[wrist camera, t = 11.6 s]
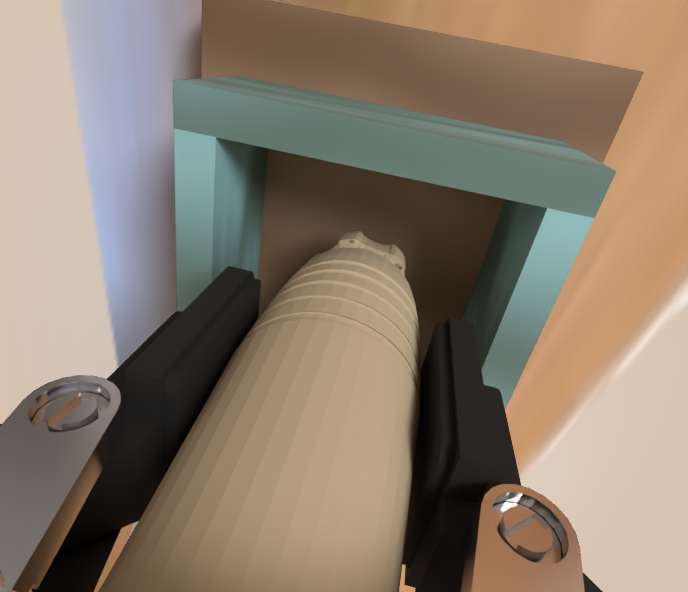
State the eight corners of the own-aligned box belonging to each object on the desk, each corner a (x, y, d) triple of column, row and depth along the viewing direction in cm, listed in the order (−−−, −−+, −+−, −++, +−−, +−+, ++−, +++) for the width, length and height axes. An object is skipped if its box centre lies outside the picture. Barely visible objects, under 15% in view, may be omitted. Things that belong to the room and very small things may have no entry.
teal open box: (230, -3, 14) (111, -44, 9) (615, 71, 13) (739, 74, 8) (217, 351, 21) (145, 448, 15) (471, 414, 20) (486, 539, 15)
